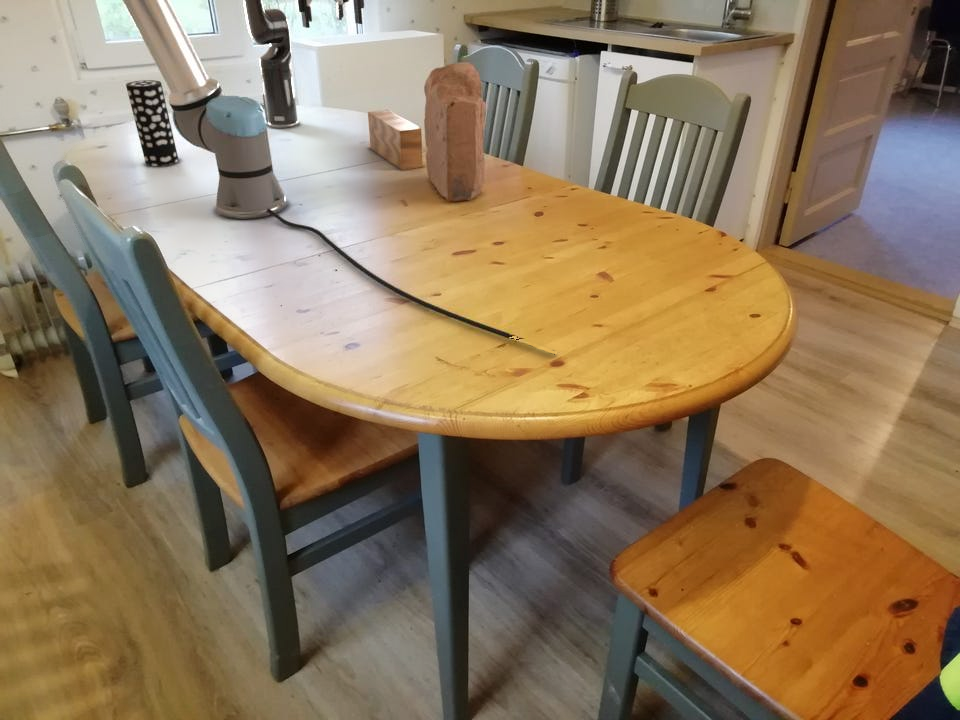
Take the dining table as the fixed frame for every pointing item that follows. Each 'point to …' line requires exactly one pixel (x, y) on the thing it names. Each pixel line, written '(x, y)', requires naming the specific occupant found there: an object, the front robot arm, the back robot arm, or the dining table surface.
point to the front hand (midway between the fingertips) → (333, 25)
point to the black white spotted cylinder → (152, 122)
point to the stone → (455, 131)
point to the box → (395, 139)
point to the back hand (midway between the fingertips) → (324, 20)
